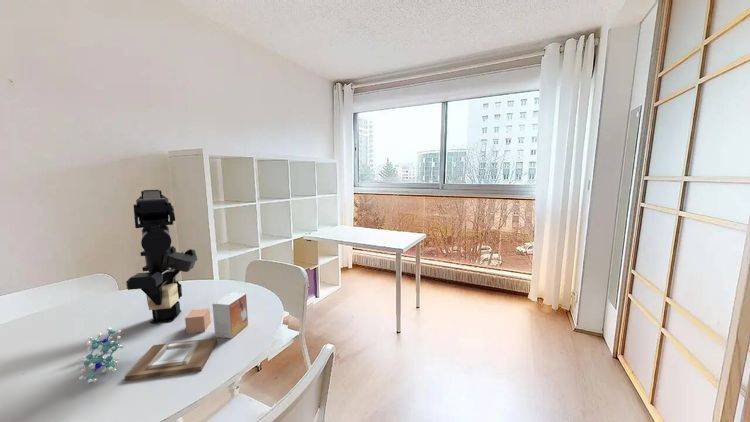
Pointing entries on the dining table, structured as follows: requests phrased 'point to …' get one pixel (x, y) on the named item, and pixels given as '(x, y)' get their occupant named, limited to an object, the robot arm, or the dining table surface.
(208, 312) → the terracotta block
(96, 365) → the molecule model
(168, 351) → the walnut board
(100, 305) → the dining table surface
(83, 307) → the dining table surface
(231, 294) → the small box
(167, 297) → the maple block
